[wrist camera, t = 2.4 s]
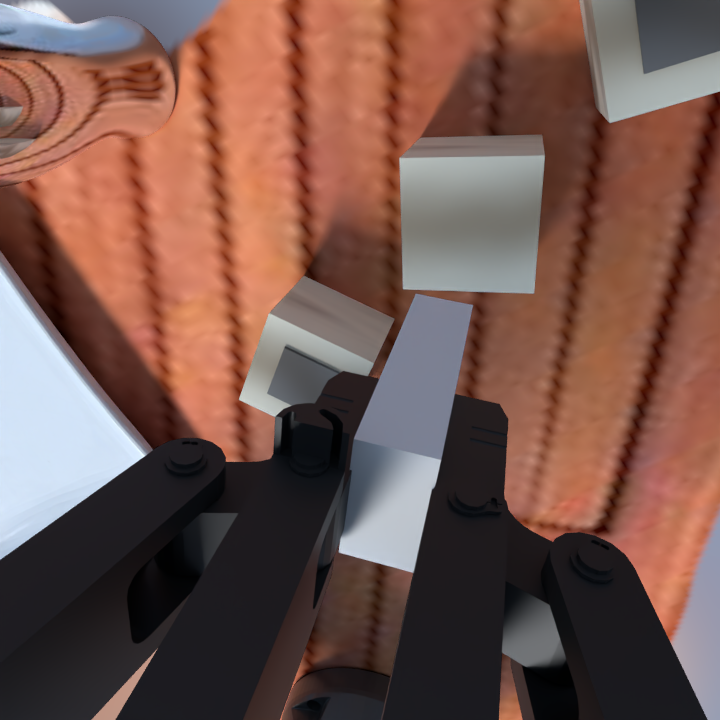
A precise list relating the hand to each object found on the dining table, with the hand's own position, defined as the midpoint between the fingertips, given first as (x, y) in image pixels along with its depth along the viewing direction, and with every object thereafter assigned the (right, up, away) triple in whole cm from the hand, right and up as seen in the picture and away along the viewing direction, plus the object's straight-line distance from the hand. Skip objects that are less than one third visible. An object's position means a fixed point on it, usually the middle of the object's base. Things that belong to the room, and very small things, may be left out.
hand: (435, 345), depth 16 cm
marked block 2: (+11, +15, +11) cm, 21 cm away
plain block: (+4, +8, +16) cm, 18 cm away
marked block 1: (-4, +1, +22) cm, 22 cm away
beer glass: (-15, +15, +17) cm, 27 cm away
